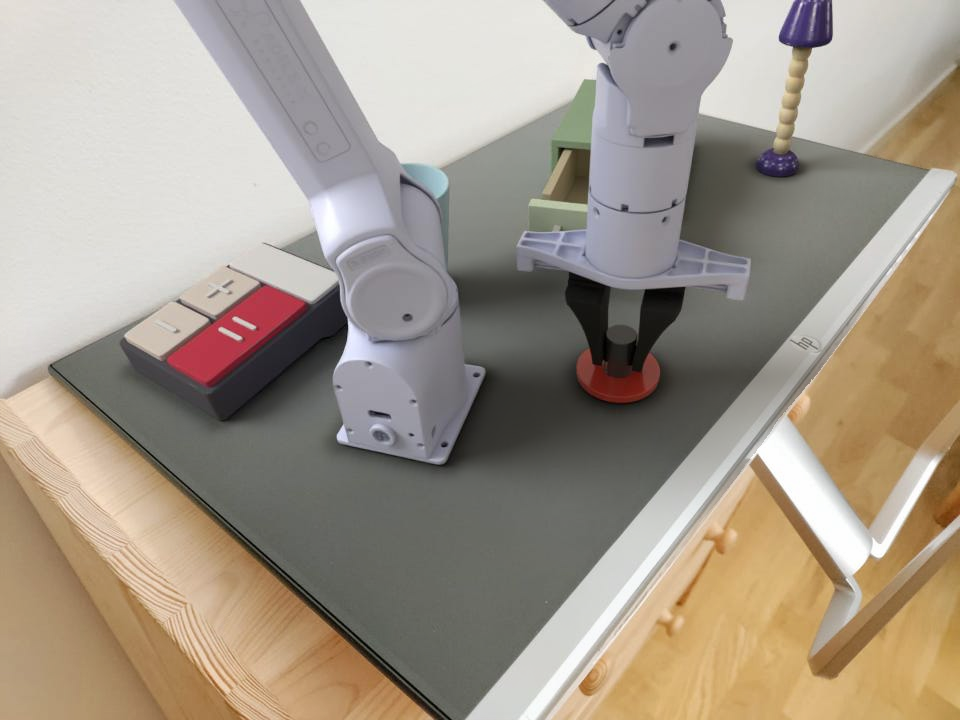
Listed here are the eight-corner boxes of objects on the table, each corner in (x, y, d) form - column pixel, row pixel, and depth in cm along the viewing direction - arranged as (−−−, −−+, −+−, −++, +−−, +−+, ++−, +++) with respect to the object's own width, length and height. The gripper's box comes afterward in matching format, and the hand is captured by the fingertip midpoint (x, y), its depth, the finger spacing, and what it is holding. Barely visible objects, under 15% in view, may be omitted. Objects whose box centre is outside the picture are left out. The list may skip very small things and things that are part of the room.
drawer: (649, 303, 57) (656, 248, 54) (515, 284, 60) (514, 231, 56) (675, 191, 70) (682, 141, 67) (564, 180, 73) (565, 132, 70)
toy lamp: (742, 167, 75) (777, -5, 64) (766, 151, 77) (804, -17, 66) (784, 181, 72) (828, 4, 61) (808, 165, 74) (855, -8, 63)
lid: (653, 409, 49) (659, 369, 47) (568, 394, 51) (570, 355, 48) (663, 354, 53) (670, 314, 51) (585, 341, 55) (587, 302, 52)
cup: (389, 264, 65) (371, 158, 58) (469, 273, 63) (461, 165, 56) (357, 315, 59) (333, 205, 52) (444, 326, 58) (432, 214, 51)
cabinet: (676, 218, 68) (686, 150, 63) (550, 204, 71) (551, 139, 67) (691, 147, 79) (701, 85, 74) (581, 138, 82) (584, 78, 77)
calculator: (111, 334, 53) (259, 233, 62) (135, 374, 56) (273, 272, 65) (204, 388, 48) (351, 269, 57) (225, 429, 51) (362, 310, 60)
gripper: (767, 169, 43) (727, 340, 52) (535, 149, 47) (535, 311, 56) (765, 230, 38) (721, 407, 47) (505, 201, 42) (510, 370, 51)
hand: (619, 359), depth 51 cm, fingers closed on lid, 2 cm apart
